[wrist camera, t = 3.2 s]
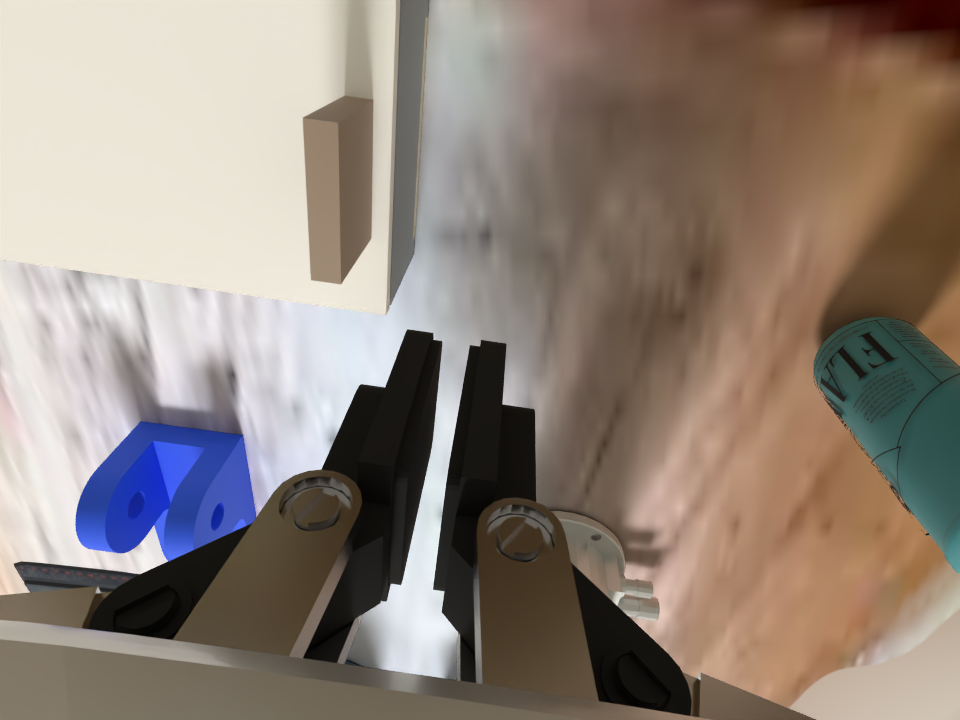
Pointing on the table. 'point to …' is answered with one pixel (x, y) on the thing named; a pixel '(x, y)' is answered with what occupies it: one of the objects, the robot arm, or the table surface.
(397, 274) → the grey tray
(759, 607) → the table surface
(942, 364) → the beverage bottle
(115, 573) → the wallet
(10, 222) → the lid
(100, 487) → the bracket
